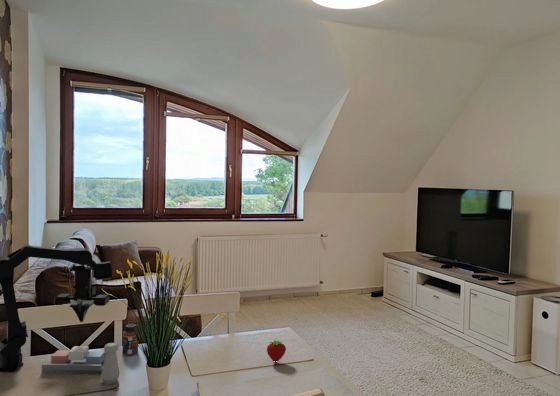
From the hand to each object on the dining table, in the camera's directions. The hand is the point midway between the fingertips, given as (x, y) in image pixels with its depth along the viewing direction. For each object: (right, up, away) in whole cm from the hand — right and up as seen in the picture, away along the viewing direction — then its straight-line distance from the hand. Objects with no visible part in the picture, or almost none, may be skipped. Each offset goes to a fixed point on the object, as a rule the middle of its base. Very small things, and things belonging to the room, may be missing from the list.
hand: (81, 321), depth 163 cm
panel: (+3, -14, -9) cm, 17 cm away
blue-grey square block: (+9, -12, -9) cm, 17 cm away
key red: (-3, -12, -9) cm, 15 cm away
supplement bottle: (+17, -14, +4) cm, 22 cm away
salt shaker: (+19, -15, -19) cm, 31 cm away
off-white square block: (+3, -10, -9) cm, 14 cm away
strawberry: (+74, -16, +1) cm, 76 cm away
